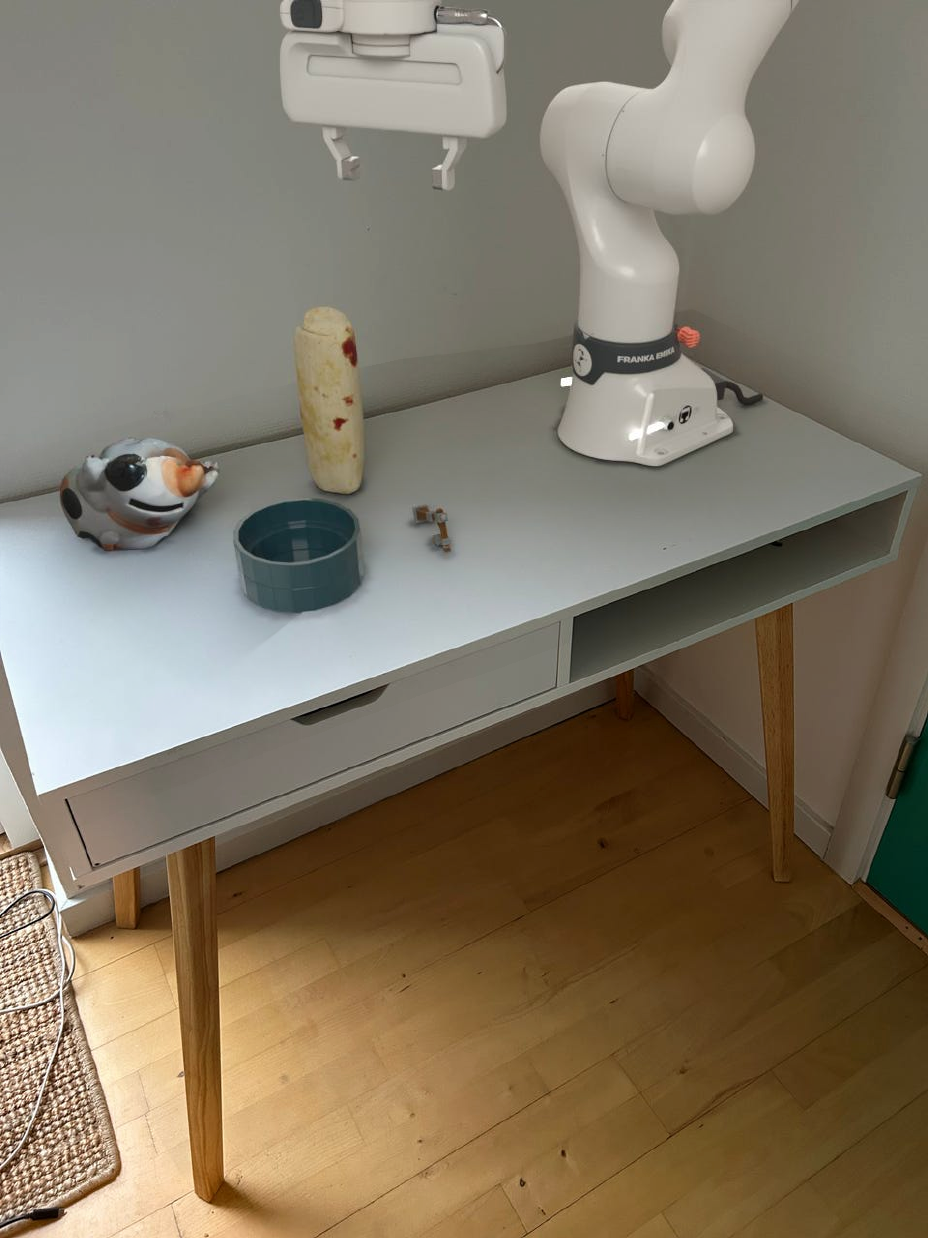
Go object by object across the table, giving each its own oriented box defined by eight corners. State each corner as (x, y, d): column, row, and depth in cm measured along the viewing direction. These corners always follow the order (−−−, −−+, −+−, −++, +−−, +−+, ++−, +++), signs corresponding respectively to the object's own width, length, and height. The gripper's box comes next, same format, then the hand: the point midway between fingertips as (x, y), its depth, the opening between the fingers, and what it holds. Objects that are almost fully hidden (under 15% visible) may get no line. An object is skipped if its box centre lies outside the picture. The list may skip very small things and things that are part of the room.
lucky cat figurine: (192, 482, 115) (217, 399, 105) (206, 566, 110) (234, 488, 99) (54, 474, 108) (66, 384, 98) (61, 564, 103) (75, 479, 92)
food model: (380, 494, 113) (369, 324, 101) (324, 506, 111) (306, 334, 99) (352, 457, 120) (339, 294, 108) (299, 468, 118) (279, 303, 106)
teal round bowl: (336, 536, 106) (331, 487, 102) (383, 594, 98) (380, 543, 94) (226, 566, 101) (217, 516, 98) (265, 630, 93) (257, 578, 89)
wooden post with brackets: (442, 554, 101) (435, 511, 100) (418, 545, 109) (411, 505, 108) (458, 550, 102) (451, 507, 101) (434, 542, 109) (427, 501, 108)
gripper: (520, 5, 80) (515, 186, 88) (300, -4, 86) (315, 166, 95) (492, 13, 75) (490, 203, 84) (262, 3, 82) (281, 181, 90)
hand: (395, 183), depth 89 cm, fingers open, 8 cm apart
